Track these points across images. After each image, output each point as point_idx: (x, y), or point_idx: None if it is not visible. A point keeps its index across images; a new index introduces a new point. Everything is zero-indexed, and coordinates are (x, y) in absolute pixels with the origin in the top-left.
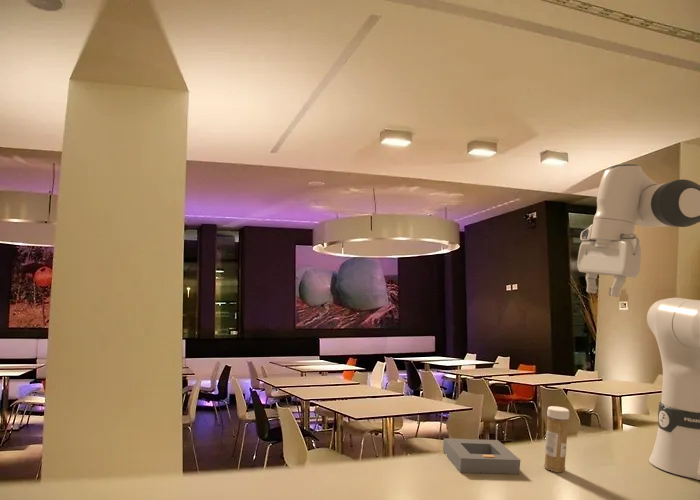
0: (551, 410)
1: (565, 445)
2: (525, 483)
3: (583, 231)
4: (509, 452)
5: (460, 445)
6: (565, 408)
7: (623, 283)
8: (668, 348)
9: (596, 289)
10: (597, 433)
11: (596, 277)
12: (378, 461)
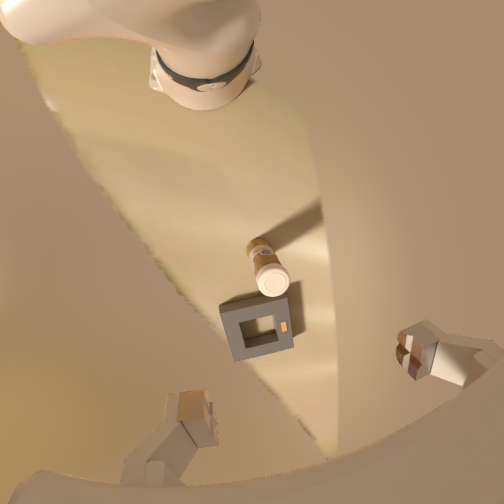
0: (282, 293)
1: (273, 252)
2: (307, 287)
3: None
4: (264, 305)
5: (254, 348)
6: (270, 272)
7: (481, 343)
8: (187, 26)
9: (202, 404)
10: (77, 150)
11: (165, 470)
12: (276, 388)
